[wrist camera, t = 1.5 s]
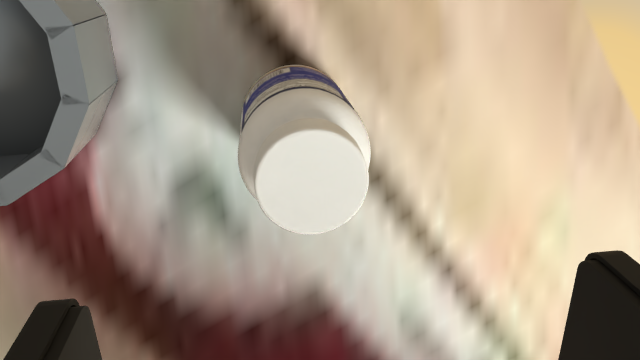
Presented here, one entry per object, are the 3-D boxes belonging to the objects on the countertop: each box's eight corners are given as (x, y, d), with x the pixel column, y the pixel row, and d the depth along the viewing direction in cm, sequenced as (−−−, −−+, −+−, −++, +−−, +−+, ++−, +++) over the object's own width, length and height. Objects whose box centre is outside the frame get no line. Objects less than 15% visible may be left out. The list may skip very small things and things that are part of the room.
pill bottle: (343, 165, 27) (380, 252, 19) (242, 165, 27) (235, 255, 18) (350, 63, 25) (394, 111, 17) (240, 60, 25) (232, 108, 16)
